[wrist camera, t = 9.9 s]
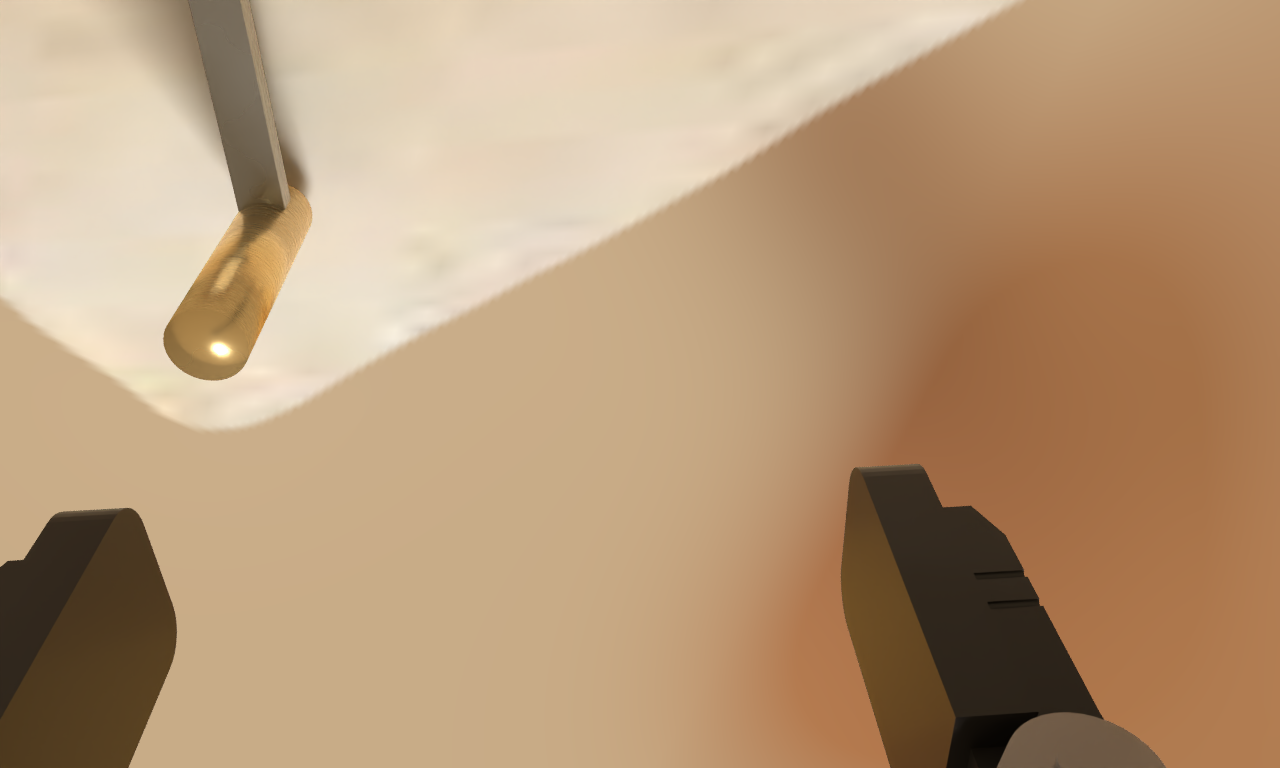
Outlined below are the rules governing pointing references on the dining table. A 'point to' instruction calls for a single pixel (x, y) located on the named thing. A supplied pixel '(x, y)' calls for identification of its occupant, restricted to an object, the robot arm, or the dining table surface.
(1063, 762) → the robot arm
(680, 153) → the dining table surface
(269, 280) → the lever handle
